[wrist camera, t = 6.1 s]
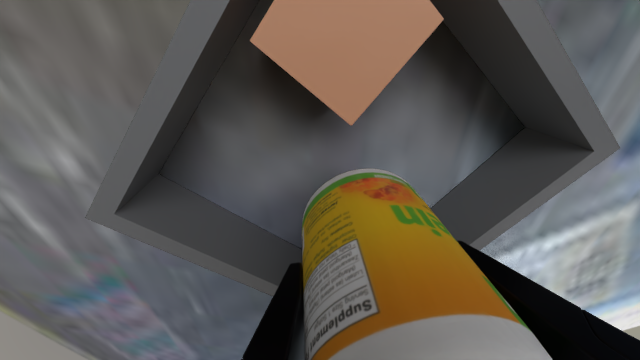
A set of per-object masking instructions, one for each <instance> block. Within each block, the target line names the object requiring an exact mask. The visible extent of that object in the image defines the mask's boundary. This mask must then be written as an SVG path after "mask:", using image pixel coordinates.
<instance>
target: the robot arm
mask: <svg viewBox="0 0 640 360" xmlns="http://www.w3.org/2000/svg"><path fill="white" fill-rule="evenodd" d="M457 242H458V243H459V245H460V246H461V247H462V248H463V249H464V251H465V252H466V253H467V254H468V255H469V257H470V258H471V259H472V260H473V262H474V263H475V264H476V265H477V266H478V268H479V269H480V270H481V271H482V272H483V274H484V275H485V276H486V277H487V278H488V280H489V281H490V282H491V283H492V284H493V286H494V287H495V288H496V289H497V291H498V292H499V293H500V294H501V295H502V297H503V298H504V299H505V300H506V301H507V303H508V304H509V305H510V306H511V307H512V309H513V310H514V311H515V312H516V314H517V315H518V316H519V317H520V318H521V320H522V321H523V322H524V323H525V324H526V326H527V327H528V328H529V329H530V330H531V332H532V333H533V334H534V335H535V337H536V338H537V339H538V341H539V342H540V343H541V345H542V346H543V347H544V349H545V350H546V351H547V353H548V354H549V355H550V357H551V358H552V359H553V360H640V340H638V339H636V338H634V337H632V336H630V335H628V334H627V333H625V332H623V331H621V330H619V329H617V328H616V327H614V326H612V325H610V324H608V323H607V322H605V321H603V320H601V319H599V318H598V317H596V316H594V315H592V314H590V313H589V312H587V311H585V310H581V308H580V307H578V306H576V305H574V304H573V303H571V302H569V301H567V300H566V299H564V298H562V297H560V296H558V295H557V294H555V293H553V292H551V291H550V290H548V289H546V288H544V287H543V286H541V285H539V284H537V283H535V282H534V281H532V280H530V279H528V278H527V277H525V276H523V275H521V274H520V273H518V272H516V271H514V270H512V269H511V268H509V267H507V266H505V265H504V264H502V263H500V262H498V261H497V260H495V259H493V258H491V257H489V256H488V255H486V254H484V253H482V252H481V251H479V250H477V249H475V248H474V247H472V246H470V245H468V244H466V243H465V242H463V241H460V240H457ZM241 360H305V351H304V305H303V267H302V263H301V262H295V263H291V264H290V265H289V266H288V268H287V270H286V272H285V274H284V276H283V278H282V280H281V282H280V284H279V286H278V288H277V290H276V292H275V294H274V296H273V298H272V300H271V302H270V304H269V306H268V308H267V310H266V312H265V314H264V316H263V318H262V319H261V321H260V323H259V325H258V327H257V329H256V331H255V333H254V335H253V337H252V339H251V341H250V343H249V345H248V347H247V349H246V351H245V353H244V355H243V359H241Z"/></svg>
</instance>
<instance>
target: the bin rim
mask: <svg viewBox="0 0 640 360" xmlns="http://www.w3.org/2000/svg"><path fill="white" fill-rule="evenodd" d="M258 1H259V0H191V1H190V3H189V5H188V7H187V9H186V11H185V13H184V15H183V17H182V19H181V21H180V23H179V25H178V27H177V30H176V32H175V34H174V36H173V38H172V40H171V42H170V44H169V46H168V48H167V50H166V52H165V54H164V56H163V58H162V60H161V62H160V65H159V67H158V69H157V71H156V73H155V75H154V77H153V79H152V81H151V83H150V85H149V87H148V89H147V91H146V93H145V95H144V97H143V99H142V102H141V104H140V106H139V108H138V110H137V112H136V114H135V116H134V118H133V120H132V122H131V124H130V126H129V128H128V130H127V132H126V134H125V137H124V139H123V141H122V143H121V145H120V147H119V149H118V151H117V153H116V155H115V157H114V159H113V161H112V163H111V165H110V167H109V169H108V172H107V174H106V176H105V178H104V180H103V182H102V184H101V186H100V188H99V190H98V192H97V194H96V196H95V198H94V200H93V202H92V204H91V207H90V209H89V211H88V213H87V215H86V217H85V218H86V219H89V220H91V221H94V222H96V223H98V224H101V225H103V226H106V227H108V228H110V229H113V230H115V231H118V232H120V233H122V234H125V235H127V236H129V237H132V238H134V239H137V240H139V241H141V242H144V243H146V244H149V245H151V246H153V247H156V248H158V249H161V250H163V251H165V252H168V253H170V254H173V255H175V256H177V257H180V258H182V259H185V260H187V261H189V262H192V263H194V264H197V265H199V266H201V267H204V268H206V269H209V270H211V271H213V272H216V273H218V274H221V275H223V276H225V277H228V278H230V279H233V280H235V281H237V282H240V283H242V284H245V285H247V286H249V287H252V288H254V289H257V290H259V291H261V292H264V293H266V294H269V295H271V296H274V294H275V292H276V290H277V288H278V286H279V284H280V282H281V280H282V278H283V276H284V274H285V272H286V270H287V268H288V266H289V265H290V264H291V263H295V262H301V263H302V249H300V248H298V247H296V246H294V245H292V244H290V243H288V242H286V241H285V240H283V239H281V238H279V237H277V236H275V235H273V234H271V233H269V232H267V231H266V230H264V229H262V228H260V227H258V226H256V225H254V224H252V223H250V222H248V221H247V220H245V219H243V218H241V217H239V216H237V215H235V214H233V213H231V212H229V211H228V210H226V209H224V208H222V207H220V206H218V205H216V204H214V203H212V202H210V201H209V200H207V199H205V198H203V197H201V196H199V195H197V194H195V193H193V192H191V191H190V190H188V189H186V188H184V187H182V186H180V185H178V184H176V183H174V182H172V181H171V180H169V179H167V178H165V177H163V176H161V175H159V174H158V173H159V171H160V170H161V168H162V166H163V165H164V163H165V161H166V159H167V158H168V156H169V154H170V153H171V151H172V149H173V147H174V146H175V144H176V142H177V140H178V139H179V137H180V135H181V134H182V132H183V130H184V128H185V127H186V125H187V123H188V122H189V120H190V118H191V116H192V115H193V113H194V111H195V110H196V108H197V106H198V104H199V103H200V101H201V99H202V98H203V96H204V94H205V92H206V91H207V89H208V87H209V86H210V84H211V82H212V80H213V79H214V77H215V75H216V73H217V72H218V70H219V68H220V67H221V65H222V63H223V61H224V60H225V58H226V56H227V55H228V53H229V51H230V49H231V48H232V46H233V44H234V43H235V41H236V39H237V37H238V36H239V34H240V32H241V31H242V29H243V27H244V25H245V24H246V22H247V20H248V19H249V17H250V15H251V13H252V12H253V10H254V8H255V6H256V5H257V3H258ZM430 1H431V3H432V4H433V5H434V7H435V8H436V9H437V10H438V12H439V13H440V14H441V16H442V17H443V18H444V20H443V22H444V23H445V24H446V25H447V27H448V28H449V29H450V31H451V32H452V33H453V34H454V36H455V37H456V38H457V40H458V41H459V42H460V44H461V45H462V46H463V47H464V49H465V50H466V51H467V53H468V54H469V55H470V56H471V58H472V59H473V60H474V62H475V63H476V64H477V65H478V67H479V68H480V69H481V71H482V72H483V73H484V75H485V76H486V77H487V78H488V80H489V81H490V82H491V84H492V85H493V86H494V87H495V89H496V90H497V91H498V93H499V94H500V95H501V97H502V98H503V99H504V100H505V102H506V103H507V104H508V106H509V107H510V108H511V109H512V111H513V112H514V113H515V115H516V116H517V117H518V119H519V120H520V121H521V122H522V124H523V125H524V126H525V128H524V129H523V130H522V131H520V132H519V133H518V134H517V135H516V136H515V137H513V138H512V139H511V140H510V141H509V142H508V143H507V144H505V145H504V146H503V147H502V148H501V149H500V150H498V151H497V152H496V153H495V154H494V155H493V156H491V157H490V158H489V159H488V160H487V161H486V162H484V163H483V164H482V165H481V166H480V167H479V168H477V169H476V170H475V171H474V172H473V173H472V174H470V175H469V176H468V177H467V178H466V179H465V180H463V181H462V182H461V183H460V184H459V185H458V186H456V187H455V188H454V189H453V190H452V191H451V192H449V193H448V194H447V195H446V196H445V197H444V198H442V199H441V200H440V201H439V202H438V203H437V204H436V205H434V206H433V207H432V208H431V210H432V212H433V213H434V214H435V215H436V216H437V218H438V219H439V220H440V221H441V223H442V224H443V225H444V226H445V228H446V229H447V230H448V231H449V232H450V234H451V235H452V236H453V237H454V239H455V240H456V241H457V240H460V241H463V242H465V243H466V244H468V245H470V246H472V247H474V248H475V249H477V250H481V249H482V248H483V247H485V246H486V245H488V244H489V243H490V242H492V241H493V240H494V239H496V238H497V237H499V236H500V235H501V234H503V233H504V232H505V231H507V230H508V229H510V228H511V227H512V226H514V225H515V224H516V223H518V222H519V221H521V220H522V219H523V218H525V217H526V216H527V215H529V214H530V213H532V212H533V211H534V210H536V209H537V208H538V207H540V206H541V205H543V204H544V203H545V202H547V201H548V200H549V199H551V198H552V197H554V196H555V195H556V194H558V193H559V192H560V191H562V190H563V189H565V188H566V187H567V186H569V185H570V184H571V183H573V182H574V181H576V180H577V179H578V178H580V177H581V176H582V175H584V174H585V173H587V172H588V171H589V170H591V169H592V168H593V167H595V166H596V165H598V164H599V163H600V162H602V161H603V160H604V159H606V158H607V157H609V156H610V155H611V154H613V153H614V152H615V151H617V150H618V149H620V146H619V145H618V143H617V141H616V139H615V138H614V136H613V134H612V132H611V131H610V129H609V127H608V125H607V124H606V122H605V120H604V118H603V116H602V115H601V113H600V111H599V109H598V108H597V106H596V104H595V102H594V101H593V99H592V97H591V95H590V94H589V92H588V90H587V88H586V87H585V85H584V83H583V81H582V79H581V78H580V76H579V74H578V72H577V71H576V69H575V67H574V65H573V64H572V62H571V60H570V58H569V57H568V55H567V53H566V51H565V50H564V48H563V46H562V44H561V42H560V41H559V39H558V37H557V35H556V34H555V32H554V30H553V28H552V27H551V25H550V23H549V21H548V20H547V18H546V16H545V14H544V13H543V11H542V9H541V7H540V5H539V4H538V2H537V0H430ZM302 267H303V266H302Z"/></svg>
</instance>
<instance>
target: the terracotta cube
mask: <svg viewBox="0 0 640 360" xmlns="http://www.w3.org/2000/svg"><path fill="white" fill-rule="evenodd" d="M443 20H444V18H443V17H442V16H441V14H440V13H439V12H438V10H437V9H436V8H435V7H434V5H433V4H432V3H431V1H430V0H274V1H273V3H272V5H271V6H270V8H269V10H268V11H267V13H266V15H265V16H264V18H263V19H262V21H261V23H260V24H259V26H258V28H257V29H256V31H255V33H254V34H253V36H252V38H251V39H250V42H252V43H253V44H254V45H255V46H256V47H258V48H259V49H260V50H261V51H262V52H264V53H265V54H266V55H267V56H268V57H270V58H271V59H272V60H273V61H274V62H276V63H277V64H278V65H279V66H280V67H282V68H283V69H284V70H285V71H286V72H288V73H289V74H290V75H291V76H292V77H293V78H295V79H296V80H297V81H298V82H299V83H301V84H302V85H303V86H304V87H305V88H307V89H308V90H309V91H310V92H311V93H313V94H314V95H315V96H316V97H317V98H319V99H320V100H321V101H322V102H323V103H325V104H326V105H327V106H328V107H329V108H331V109H332V110H333V111H334V112H335V113H337V114H338V115H339V116H340V117H341V118H343V119H344V120H345V121H346V122H347V123H348V124H350V125H351V126H352V125H353V124H354V122H355V121H356V120H357V119H358V118H359V117H360V115H361V114H362V113H363V112H364V111H365V110H366V109H367V107H368V106H369V105H370V104H371V103H372V102H373V100H374V99H375V98H376V97H377V96H378V95H379V94H380V92H381V91H382V90H383V89H384V88H385V87H386V85H387V84H388V83H389V82H390V81H391V80H392V79H393V77H394V76H395V75H396V74H397V73H398V72H399V70H400V69H401V68H402V67H403V66H404V65H405V64H406V62H407V61H408V60H409V59H410V58H411V57H412V55H413V54H414V53H415V52H416V51H417V50H418V49H419V47H420V46H421V45H422V44H423V43H424V42H425V40H426V39H427V38H428V37H429V36H430V35H431V34H432V32H433V31H434V30H435V29H436V28H437V27H438V25H439V24H440V23H441V22H442V21H443Z"/></svg>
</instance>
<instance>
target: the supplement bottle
mask: <svg viewBox="0 0 640 360" xmlns="http://www.w3.org/2000/svg"><path fill="white" fill-rule="evenodd" d="M302 266H303V305H304V351H305V360H553V359H552V358H551V357H550V355H549V354H548V353H547V351H546V350H545V349H544V347H543V346H542V345H541V343H540V342H539V341H538V339H537V338H536V337H535V335H534V334H533V333H532V332H531V330H530V329H529V328H528V327H527V326H526V324H525V323H524V322H523V321H522V320H521V318H520V317H519V316H518V315H517V314H516V312H515V311H514V310H513V309H512V307H511V306H510V305H509V304H508V303H507V301H506V300H505V299H504V298H503V297H502V295H501V294H500V293H499V292H498V291H497V289H496V288H495V287H494V286H493V284H492V283H491V282H490V281H489V280H488V278H487V277H486V276H485V275H484V274H483V272H482V271H481V270H480V269H479V268H478V266H477V265H476V264H475V263H474V262H473V260H472V259H471V258H470V257H469V255H468V254H467V253H466V252H465V251H464V249H463V248H462V247H461V246H460V245H459V243H458V242H457V241H456V240H455V239H454V237H453V236H452V235H451V234H450V232H449V231H448V230H447V229H446V228H445V226H444V225H443V224H442V223H441V221H440V220H439V219H438V218H437V216H436V215H435V214H434V213H433V212H432V210H431V209H430V208H429V207H428V206H427V204H426V203H425V202H424V201H423V199H422V198H421V197H420V196H419V194H418V193H417V192H416V191H415V190H414V189H413V188H412V187H411V186H410V184H409V183H408V182H406V181H405V180H404V179H402V178H401V177H399V176H398V175H396V174H393V173H391V172H388V171H385V170H380V169H357V170H352V171H348V172H345V173H342V174H340V175H337V176H335V177H334V178H332V179H330V180H329V181H327V182H326V183H325V184H323V185H322V186H321V187H320V188H319V189H318V190H317V191H316V192H315V193H314V194H313V196H312V197H311V198H310V200H309V202H308V203H307V206H306V208H305V211H304V215H303V220H302Z"/></svg>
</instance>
